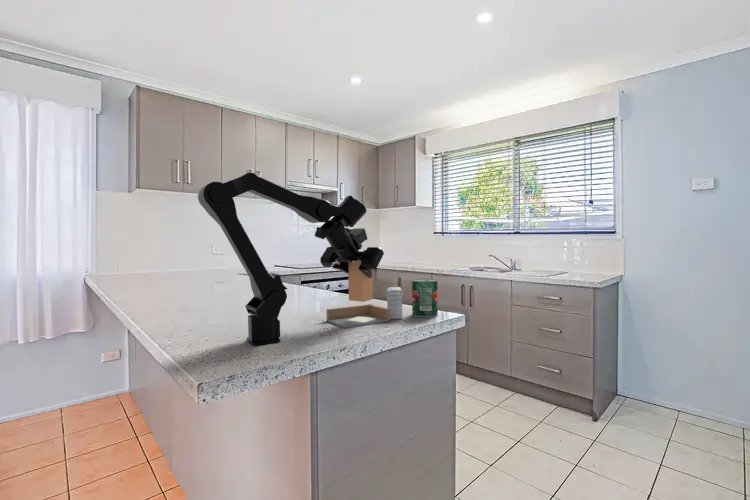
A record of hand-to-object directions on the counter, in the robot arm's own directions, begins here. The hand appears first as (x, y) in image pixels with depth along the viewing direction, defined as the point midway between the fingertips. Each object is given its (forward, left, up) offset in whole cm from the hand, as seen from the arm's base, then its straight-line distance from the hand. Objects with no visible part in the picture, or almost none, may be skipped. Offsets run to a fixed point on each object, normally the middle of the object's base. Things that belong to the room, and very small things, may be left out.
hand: (363, 276), depth 117 cm
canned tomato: (+20, -3, -13) cm, 24 cm away
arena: (-2, +1, -13) cm, 13 cm away
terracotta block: (-1, -1, -7) cm, 7 cm away
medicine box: (+11, 0, -13) cm, 17 cm away
